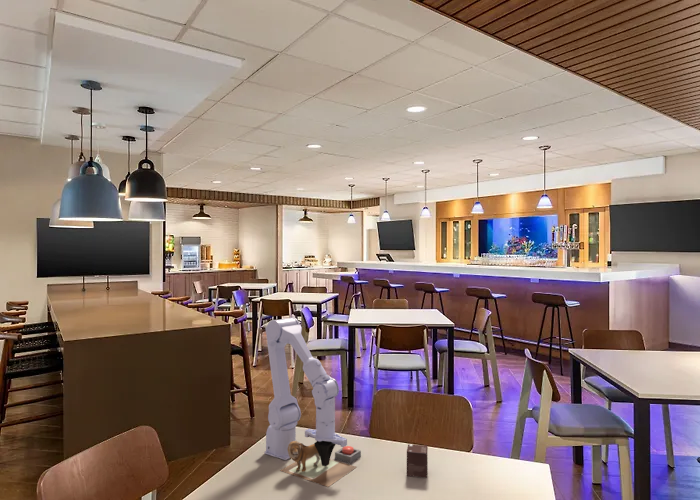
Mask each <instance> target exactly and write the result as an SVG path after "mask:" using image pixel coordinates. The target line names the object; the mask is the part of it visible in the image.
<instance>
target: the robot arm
mask: <svg viewBox="0 0 700 500" xmlns="http://www.w3.org/2000/svg"><path fill="white" fill-rule="evenodd" d="M302 330H303V327H302V326H301V324H300V323H299V319H297V317H293V316H291V317H288V318H281V319H272V320H270V321H269V322H268V324H267V325H266V326H265V335H266V342H267V344H266V345H267V350H268V351H267V352H268V357H269V358H268V359H269V366H270V372H271V373H270V374H271V381H272V382H271V383H272V388H273V399H272V400H271V401H270V403H269V405H268V415H267V419H268V420H267V421H268V422H269V423H268V424H269V425H268V426H267V429H266V434H265V451H264V454H265V455H267V456H271V457H274V458H277V459H281V460H283V461H286V460H289V459H291V458H290V456H289V453H288V445H289V444H290V442H292V441H297V440H296V437H297V435H296V430H297V429H296V426H297V425H298V422H299V421H300V419H301V418H302V412H301V408H300V405H299V403H298V399H297V398H296V397H295V396H293V395H292V394H291V387H290V380H289V372H288V364H287V357H286V350H285V347H286V346H287V344H289V345H290V346H291V347H292V349H293V350H294V351H295V353H296V355H297V356H298V357H299V359H300V360H301V362H302V371H303V373H304V374H305V376H306V378H307V380H308V382H309V384H310V385H311V387H312V390H311V394H312V397H313V399H314V405H315V429H312V428H308V429H305V430H304V437H305V438H308V437H309V438H312V439H314V441H315V442H314V443H313V444H314V445H315V447H316V449H317V451H318V453H319V456H320V459H321V463H322V466H327V465H328V464H329V461H330V459H331V458H332V457H331V456H332V453H333V450H334V448H335V447H336V446H337V445H338V446H340V447H341V448H343V447H345V446H348V439H347V438H345V437H343V436H341V435H340V434H337V433H336V420H335V418H336V397H337V396H338V395H339V391H340V387H339V384H338V381H337V380H336V379H335V378H333V377H331V376H330V375H328V373H327V371H326V370H325V368H324V366H323V365H322V362H321V361H320V360H319V359H318V358H314V357H313V355H312V353H311V351H310V349H309V347H308V345H307V343H306V341H305V338H304V337H303V335H302V332H303V331H302Z"/></svg>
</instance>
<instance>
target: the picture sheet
mask: <svg viewBox="0 0 700 500" xmlns="http://www.w3.org/2000/svg"><path fill="white" fill-rule="evenodd" d="M316 461H317V458H316V456H315V455H314V456H313V457H312V458H309V459H306V464H305V465H306V471H304V472H302V468H303V466H302V462H301V467H300V470H296V468H298V465H297V462H295V461H293V462H292V463H290V464H289V465H287V466H286V467H284V468H282V469H280V470H279V471H280V472H283V473H286V474H289V475H292V476H295V477H297V478H300V479H303V480H305V481H309V482H311V483H315V484H319V485H322V486H324V487H327V488H329V487H330V486H332V485H334V484H335V483H336V482H339V480H341V479H342V478H344V477H345V476H347V475H348V474H349V473H351V472H352V471H353V470H355V469H356V468H357V466H355V465H351V464H350V463H347V462H343V461H340V460H336V459H335V460H334V459H331V458H330V461H329V465H327V466H322V463H321V459H320V460H319V462H318V464H317V465H314V463H315V462H316Z"/></svg>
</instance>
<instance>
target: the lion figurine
mask: <svg viewBox="0 0 700 500" xmlns="http://www.w3.org/2000/svg"><path fill="white" fill-rule="evenodd" d="M288 453H289V456H290V458H289V459H291V460H292V461H293V462H297V465H298V468H296V470H300V467H301V462H302V466H303V468H302V472H304V471H306V465H305V464H306V459H309V458H312V457H313V456H314V455H315V456H316V458H317V461H316V462H315V463H314V465H317V464H318V462H319V460H320V456H319V453H318V451H317V449H316V447H315V445H314V443H313V444H310V445H304V444H303V443H301V442H299V441H297V440H296V441H292V442H290V444H289V445H288ZM328 465H329V464H328Z"/></svg>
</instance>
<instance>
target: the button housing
mask: <svg viewBox="0 0 700 500" xmlns="http://www.w3.org/2000/svg"><path fill="white" fill-rule="evenodd" d="M361 457H362V451H361V450H360V449H357V448H354V453H353V454H352V455H346V454H343V453H342V448H340V449H338V450H336V451H335V452H334V459H335V460H336V461H339V462H343V463H346V464H353V463H354V462H355V461H357V460H358V459H360V458H361Z"/></svg>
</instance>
